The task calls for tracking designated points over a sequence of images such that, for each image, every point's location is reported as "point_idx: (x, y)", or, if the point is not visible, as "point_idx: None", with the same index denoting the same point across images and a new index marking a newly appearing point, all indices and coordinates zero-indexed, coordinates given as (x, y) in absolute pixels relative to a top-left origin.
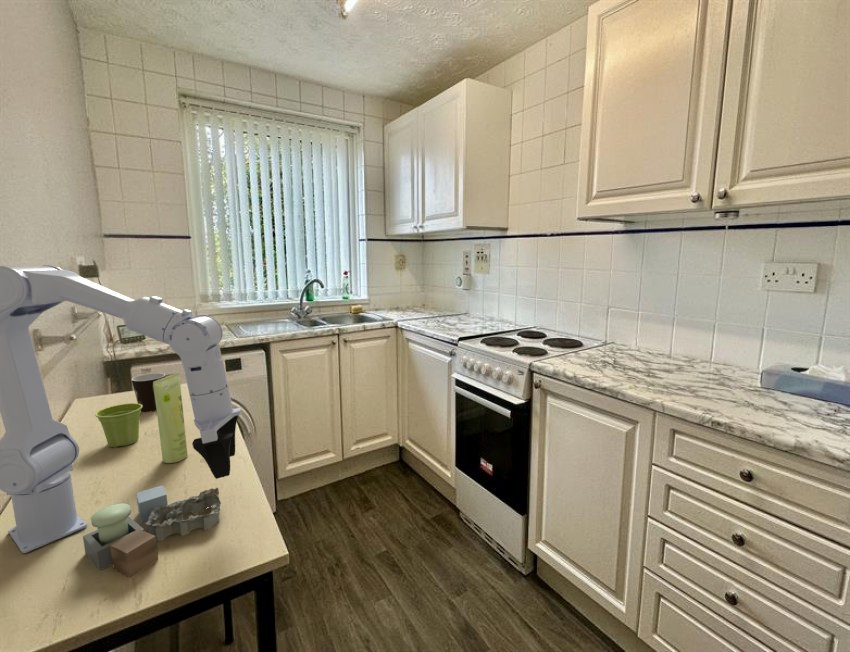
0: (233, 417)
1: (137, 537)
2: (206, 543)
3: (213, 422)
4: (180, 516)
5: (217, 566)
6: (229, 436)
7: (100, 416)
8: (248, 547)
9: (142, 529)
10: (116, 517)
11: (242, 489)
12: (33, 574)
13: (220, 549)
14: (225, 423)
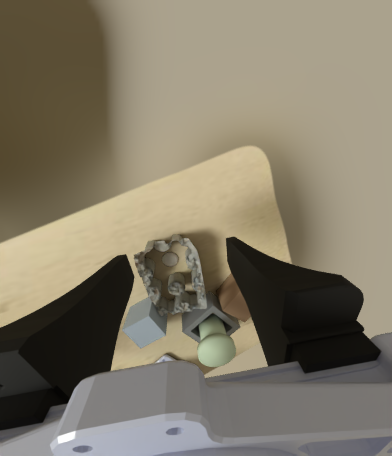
0: (38, 358)
1: (238, 305)
2: (218, 235)
3: (308, 446)
4: (179, 280)
5: (261, 211)
6: (349, 293)
7: None
8: (238, 183)
9: (213, 307)
10: (229, 343)
11: (96, 225)
12: None
13: (233, 216)
14: (74, 357)
